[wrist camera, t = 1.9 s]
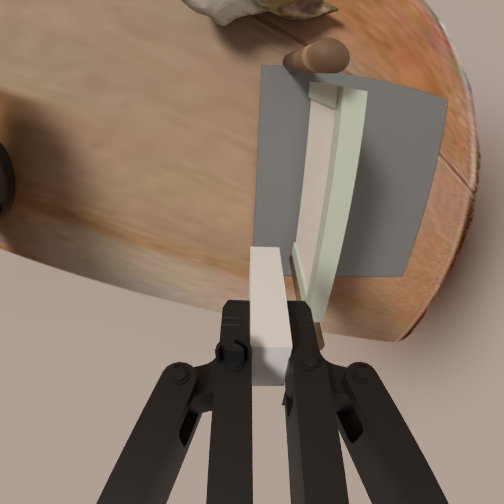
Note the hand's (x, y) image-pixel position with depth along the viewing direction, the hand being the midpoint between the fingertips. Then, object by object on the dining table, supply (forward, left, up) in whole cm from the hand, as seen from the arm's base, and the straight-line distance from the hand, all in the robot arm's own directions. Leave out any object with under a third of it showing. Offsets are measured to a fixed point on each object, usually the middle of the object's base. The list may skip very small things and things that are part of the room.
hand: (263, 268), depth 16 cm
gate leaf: (+6, -1, -20) cm, 21 cm away
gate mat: (+12, -3, -22) cm, 25 cm away
